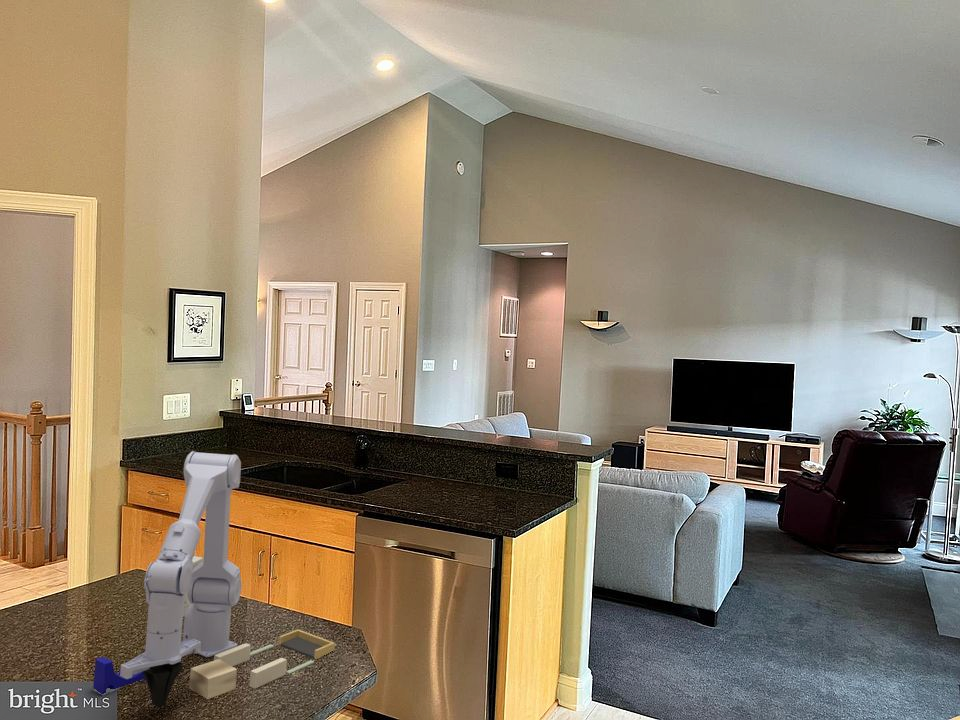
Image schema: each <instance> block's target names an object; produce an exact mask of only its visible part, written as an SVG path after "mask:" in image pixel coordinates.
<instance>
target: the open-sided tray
mask: <svg viewBox="0 0 960 720" xmlns="http://www.w3.org/2000/svg"><path fill="white" fill-rule="evenodd" d="M278 645H279V646H281V647H283V648H286V649H289V650H292V651H294V652H296V653H299V654H301V655H303V656H306V657H309V658H312V659H315V660H317V659H319V658H322V657H325V656H327V655H328V653H329V654H331V653H332V652H331V651H333V650H334V651H335V646H336V643H335V642H333V641H331V640H328V639H325V638H323V637H321V636H318V635H314V634H311V633H309V632H306V631H304V630H301V629H294V630H292V631H290V632H288V633H284V634H282V635H280V636H279V637H278ZM334 651H333V652H334ZM330 652H331V653H330ZM326 654H327V655H326ZM324 655H325V656H324Z"/></svg>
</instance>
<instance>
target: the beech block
mask: <svg viewBox="0 0 960 720" xmlns="http://www.w3.org/2000/svg"><path fill="white" fill-rule="evenodd" d="M189 673H190V674H189V682H188V683H189V685H188V689H189V690H190V691H192V692H194V693H196V694H197V693H198V694H197V695H199V696H200V697H202V696H203V697H202V698H204V699H205V698H206V700H211V699H213V698H215V697H219V696H220V695H223V694H225V693H228V692H231V691H234V690H236V686H237V676H238V675H237V673H238V669H237V668H236V667H235V666H233V667H232V666H230V665H229V664H227V663H225V662H223V661H221V660H220V659H218V660H215V661H214V660H213V661H209V662H205V663H202V664H199V665H196V666H193V667H191V668H190V672H189Z"/></svg>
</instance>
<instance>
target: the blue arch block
mask: <svg viewBox="0 0 960 720" xmlns="http://www.w3.org/2000/svg"><path fill="white" fill-rule="evenodd" d="M94 661H95V663H94V674H93V676H94V677H93V685H92V686H93V687H92V689H93V688H94V689H96V690H97V691H98V692H100V693H101V694H104V693H106V689H107V688H110V689H116V688H119V687H122V686H125V685H128V684H131V683H134V682H136V681H140V680H142V679H145V677H144V675H143V673H142V672H140V673H137V674H134V675H132V678H129V679H126V678H123V677H122V676H120V670H121V669H119V671H118V673H116V671H115V669H114V661H112V660H110V659H109V658H106V657H104V656H102V657H99V658H96V659H95V660H94ZM145 680H146V679H145ZM140 682H141V681H140Z"/></svg>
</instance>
